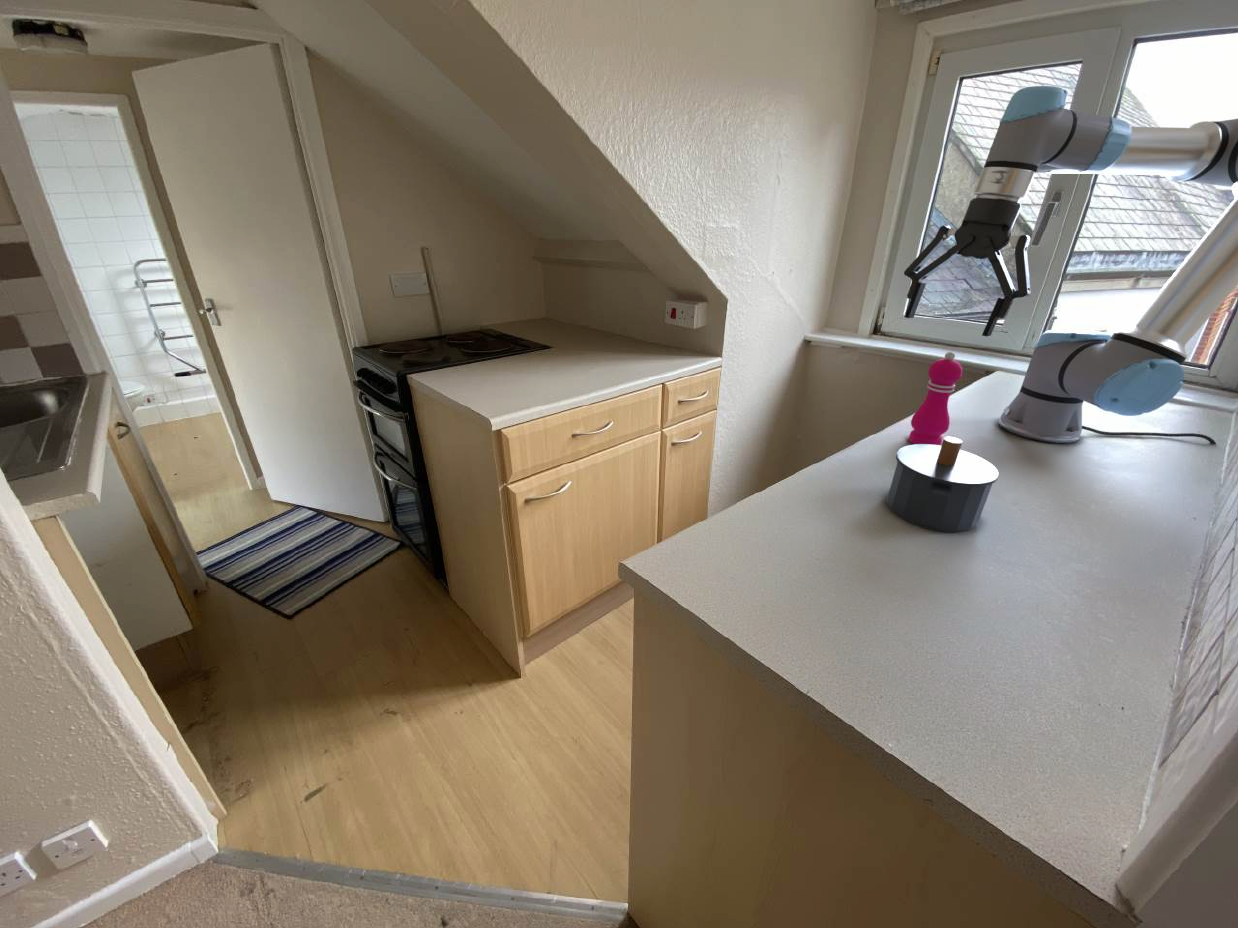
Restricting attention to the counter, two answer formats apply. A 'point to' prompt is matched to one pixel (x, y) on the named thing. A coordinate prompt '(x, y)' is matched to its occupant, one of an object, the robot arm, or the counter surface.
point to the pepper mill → (936, 402)
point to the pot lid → (947, 464)
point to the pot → (935, 502)
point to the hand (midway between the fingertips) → (945, 326)
